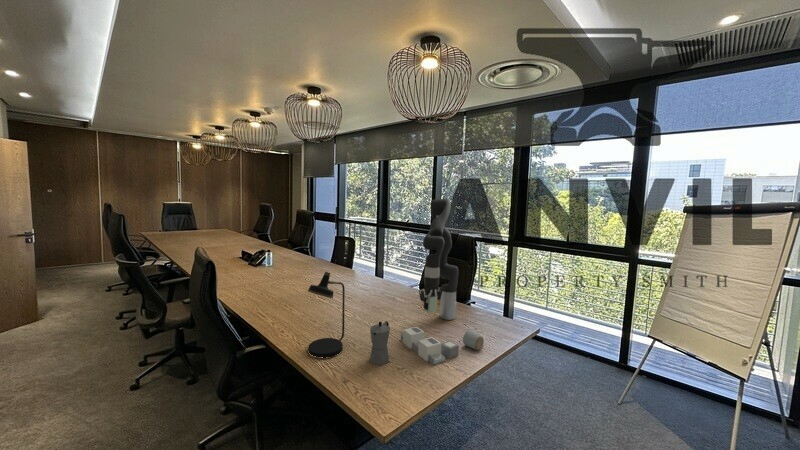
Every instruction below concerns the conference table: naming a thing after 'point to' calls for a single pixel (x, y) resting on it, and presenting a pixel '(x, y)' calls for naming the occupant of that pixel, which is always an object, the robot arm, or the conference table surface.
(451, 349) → the block
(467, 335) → the ceramic mug
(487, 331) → the conference table surface
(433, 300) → the module
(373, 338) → the coffeepot
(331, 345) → the lamp
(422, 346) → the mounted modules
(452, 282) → the robot arm
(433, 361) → the rail
